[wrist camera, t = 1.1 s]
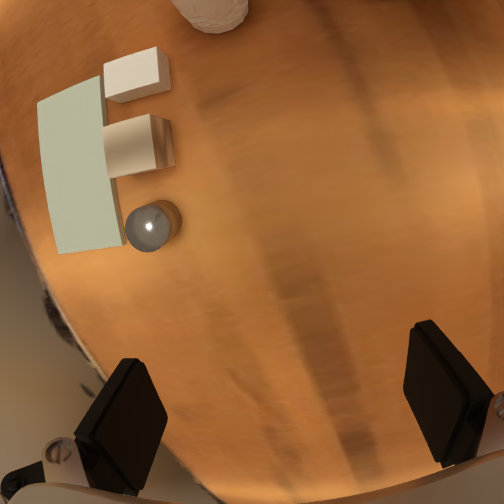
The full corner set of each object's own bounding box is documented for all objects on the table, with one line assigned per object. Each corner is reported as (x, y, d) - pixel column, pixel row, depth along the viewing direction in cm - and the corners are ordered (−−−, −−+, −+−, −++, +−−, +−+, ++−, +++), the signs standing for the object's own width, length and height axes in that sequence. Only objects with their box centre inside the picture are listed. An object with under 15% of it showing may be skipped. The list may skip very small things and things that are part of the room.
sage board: (42, 103, 29) (37, 102, 28) (104, 77, 28) (99, 75, 27) (63, 251, 34) (58, 254, 33) (126, 242, 34) (122, 245, 32)
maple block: (128, 131, 30) (101, 127, 24) (170, 121, 30) (149, 113, 24) (134, 174, 31) (108, 178, 26) (176, 166, 31) (156, 168, 25)
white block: (119, 72, 28) (103, 64, 24) (168, 58, 28) (156, 46, 24) (122, 103, 29) (105, 97, 25) (171, 90, 29) (159, 81, 25)
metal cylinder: (141, 203, 32) (121, 210, 27) (178, 197, 32) (162, 203, 27) (148, 241, 33) (130, 254, 29) (184, 236, 33) (170, 249, 28)
